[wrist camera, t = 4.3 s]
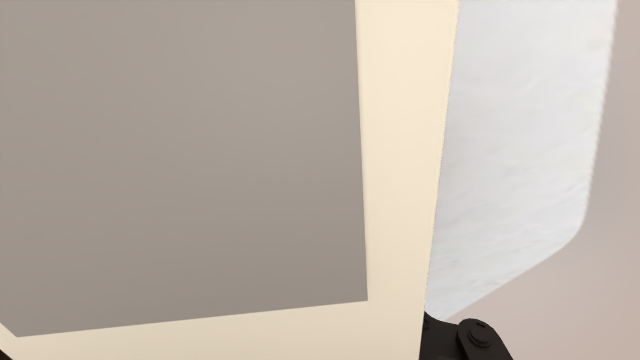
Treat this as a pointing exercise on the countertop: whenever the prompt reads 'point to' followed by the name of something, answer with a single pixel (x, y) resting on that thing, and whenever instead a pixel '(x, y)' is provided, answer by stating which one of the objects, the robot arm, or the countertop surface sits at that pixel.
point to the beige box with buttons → (219, 177)
